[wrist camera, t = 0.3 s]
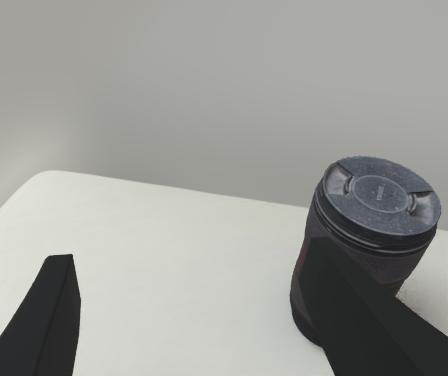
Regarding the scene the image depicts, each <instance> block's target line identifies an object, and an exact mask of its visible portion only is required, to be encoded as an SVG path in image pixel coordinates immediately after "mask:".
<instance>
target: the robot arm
mask: <svg viewBox="0 0 448 376" xmlns="http://www.w3.org/2000/svg"><path fill="white" fill-rule="evenodd" d="M298 283H299V287H300V290H301V294H302V298H303V301H304V304H305V307H306V310H307V313H308V315H309V317H310V320H311V322H312V324H313V327H314V329H315V331H316V334H317V336H318V338H319V340H320V343H321V345H322V347H323V350H324V352H325V354H326V356H327V359H328V361H329V363H330V365H331V368H332V370H333V372H334V375H335V376H448V336H446V335H445V334H443V333H442V332H441V331H439V330H438V329H436V328H435V327H434V326H432V325H431V324H429V323H428V322H427V321H425V320H424V319H423V318H421V317H420V316H419V315H417V314H416V313H415V312H414V311H412V310H411V309H410V308H409V307H407V306H406V305H405V304H404V303H402V302H401V301H400V300H399V299H398V298H396V297H395V296H394V295H393V294H392V293H390V292H389V291H388V290H387V289H386V288H385V287H383V286H382V285H381V284H380V283H379V282H378V281H377V280H376V279H374V278H373V277H372V276H371V275H370V274H369V273H368V272H367V271H366V270H365V269H364V268H362V267H361V266H360V265H359V264H358V263H357V262H356V261H355V260H354V259H353V258H352V257H351V256H350V255H349V254H348V253H346V252H345V251H344V250H343V249H342V248H341V247H340V246H339V245H338V244H337V243H336V242H335V241H334V240H332V239H331V238H330V237H329V236H323V237H311V239H310V242H309V246H308V249H307V252H306V255H305V258H304V261H303V264H302V267H301V271H300V274H299V277H298ZM80 309H81V298H80V292H79V287H78V282H77V276H76V271H75V265H74V260H73V255H72V254H66V255H52V256H48V257H47V258H46V259H45V261H44V263H43V265H42V267H41V269H40V271H39V273H38V275H37V277H36V279H35V281H34V282H33V284H32V286H31V288H30V289H29V291H28V293H27V295H26V296H25V298H24V300H23V301H22V303H21V305H20V306H19V308H18V309H17V311H16V313H15V314H14V316H13V317H12V319H11V321H10V322H9V324H8V325H7V327H6V328H5V330H4V331H3V333H2V334H1V336H0V376H72V374H73V368H74V362H75V356H76V350H77V344H78V338H79V327H80Z"/></svg>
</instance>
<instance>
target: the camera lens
mask: <svg viewBox="0 0 448 376" xmlns="http://www.w3.org/2000/svg"><path fill="white" fill-rule="evenodd" d="M440 215H441V205H440V201H439V198H438V196H437V194H436V193H435V191H434V190H433V188H432V187H431V186H430V185H429V183H427V182H426V181H425V180H424V179H423V178H422V177H420V176H419V175H418V174H416V173H414V172H413V171H411V170H410V169H408V168H406V167H404V166H402V165H400V164H397V163H394V162H391V161H389V160H385V159H381V158H376V157H369V156H354V157H347V158H344V159H341V160H338V161H337V162H335V163H333V164H331V165H330V166H329V167H328V168H327V170H326V171H325V174H324V176H323V178H322V179H321V181H320V182H319V183H318V185H317V187H316V189H315V192H314V196H313V199H312V203H311V206H310V210H309V213H308V216H307V221H306V228H305V238H304V241H303V244H302V248H301V251H300V254H299V257H298V259H297V262H296V265H295V268H294V272H293V276H292V281H291V290H290V303H291V308H292V315H293V319H294V321H295V324H296V325H297V327H298V329H299V330H300V331H301V333H302V334H303V335H304V336H305V337H307V338H308V339H309V340H310V341H312V342H313V343H315V344H317V345H319V346H321V347H322V345H321V343H320V340H319V338H318V336H317V334H316V331H315V329H314V327H313V324H312V322H311V320H310V317H309V315H308V313H307V310H306V307H305V304H304V301H303V298H302V294H301V290H300V287H299V283H298V277H299V274H300V271H301V267H302V264H303V261H304V258H305V255H306V252H307V249H308V246H309V242H310V239H311V237H323V236H329V237H330V238H331V239H332V240H334V241H335V242H336V243H337V244H338V245H339V246H340V247H341V248H342V249H343V250H344V251H345V252H346V253H348V254H349V255H350V256H351V257H352V258H353V259H354V260H355V261H356V262H357V263H358V264H359V265H360V266H361V267H362V268H364V269H365V270H366V271H367V272H368V273H369V274H370V275H371V276H372V277H373V278H374V279H376V280H377V281H378V282H379V283H380V284H381V285H382V286H383V287H385V288H386V289H387V290H388V291H389V292H390V293H392V294H393V295H394V296H396V294H397V293H398V291H399V289H400V287H401V286H402V284H403V282H404V281H405V279H407V278H408V277H409V275H410V274H411V273H412V271H413V270H414V269H415V267H416V266H417V264H418V263H419V261H420V259H421V258H422V256H423V254H424V253H425V251H426V249H427V248H428V246H429V244H430V243H431V241H432V239H433V238H434V236H435V234H436V229H437V223H438V220H439V218H440Z"/></svg>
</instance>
